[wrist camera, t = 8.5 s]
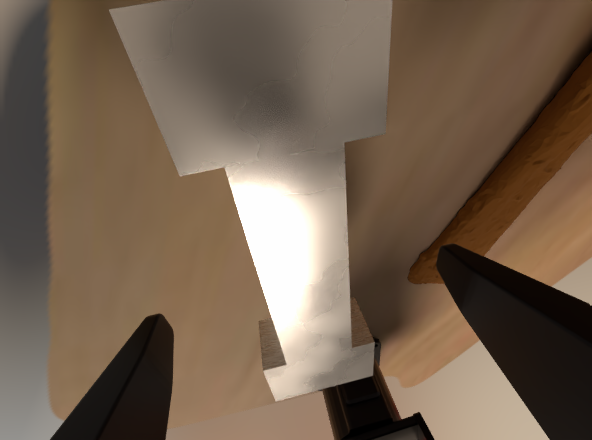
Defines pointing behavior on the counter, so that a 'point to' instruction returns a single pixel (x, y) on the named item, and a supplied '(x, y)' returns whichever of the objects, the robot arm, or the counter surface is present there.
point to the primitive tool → (518, 174)
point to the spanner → (276, 150)
